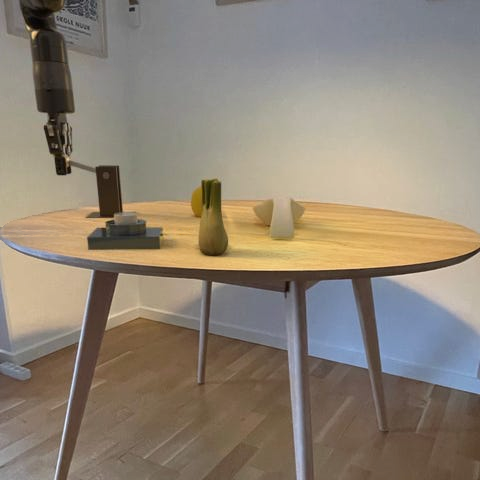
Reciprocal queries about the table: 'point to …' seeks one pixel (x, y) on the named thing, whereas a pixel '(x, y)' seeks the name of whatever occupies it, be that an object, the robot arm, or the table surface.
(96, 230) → the button block
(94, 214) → the lever bracket
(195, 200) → the lemon
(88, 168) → the flush lever
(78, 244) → the table surface
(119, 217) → the flush button
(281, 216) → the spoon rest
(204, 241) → the fennel bulb
